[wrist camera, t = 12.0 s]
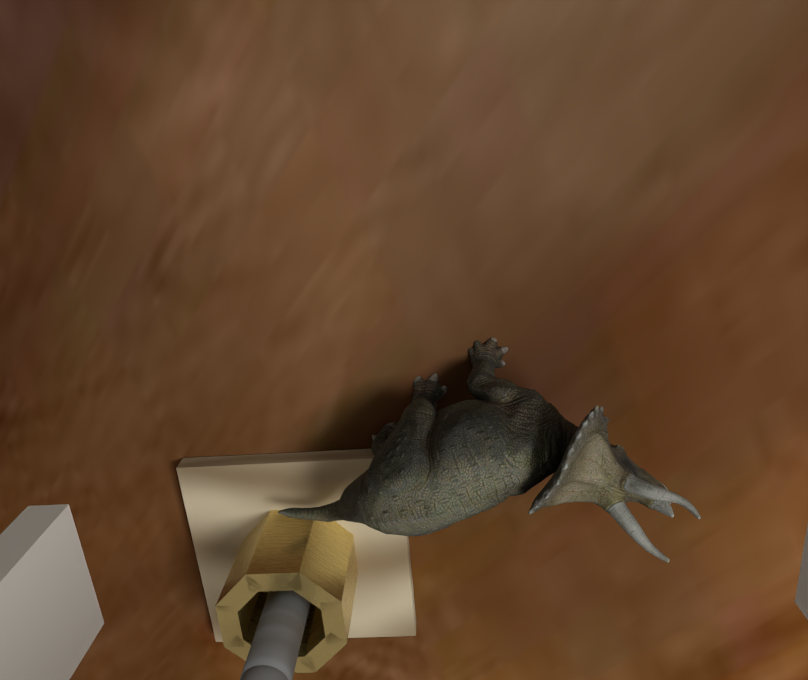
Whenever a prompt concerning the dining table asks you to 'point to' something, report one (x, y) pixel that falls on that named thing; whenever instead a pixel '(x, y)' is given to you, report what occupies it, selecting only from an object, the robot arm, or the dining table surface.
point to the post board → (276, 490)
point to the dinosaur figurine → (490, 461)
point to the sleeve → (292, 584)
